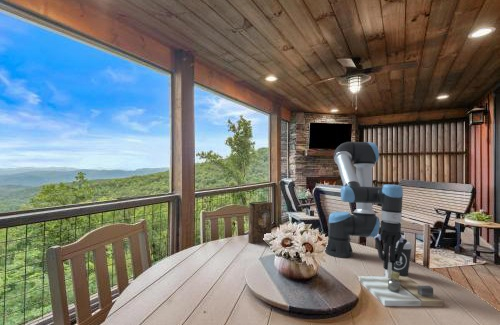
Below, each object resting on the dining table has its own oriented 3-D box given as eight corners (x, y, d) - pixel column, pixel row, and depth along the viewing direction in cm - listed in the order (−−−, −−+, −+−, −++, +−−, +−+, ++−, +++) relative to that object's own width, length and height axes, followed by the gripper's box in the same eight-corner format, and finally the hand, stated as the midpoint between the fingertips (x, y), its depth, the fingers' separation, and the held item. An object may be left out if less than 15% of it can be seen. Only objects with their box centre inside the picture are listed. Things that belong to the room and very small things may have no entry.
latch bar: (390, 276, 112) (390, 269, 112) (400, 279, 110) (401, 271, 110) (387, 289, 100) (387, 281, 100) (399, 292, 98) (399, 284, 98)
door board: (358, 280, 113) (358, 269, 113) (407, 281, 114) (407, 269, 114) (384, 306, 93) (384, 292, 93) (443, 306, 94) (443, 292, 94)
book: (252, 244, 160) (253, 204, 160) (246, 242, 164) (248, 202, 164) (271, 239, 171) (272, 202, 171) (265, 237, 175) (266, 201, 175)
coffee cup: (415, 278, 116) (416, 245, 117) (392, 276, 118) (393, 243, 119) (407, 270, 126) (407, 239, 126) (385, 268, 128) (386, 237, 128)
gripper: (378, 222, 106) (375, 279, 106) (411, 224, 104) (408, 282, 105) (371, 218, 113) (369, 271, 113) (402, 220, 112) (399, 274, 112)
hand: (388, 276), depth 109 cm, fingers closed
